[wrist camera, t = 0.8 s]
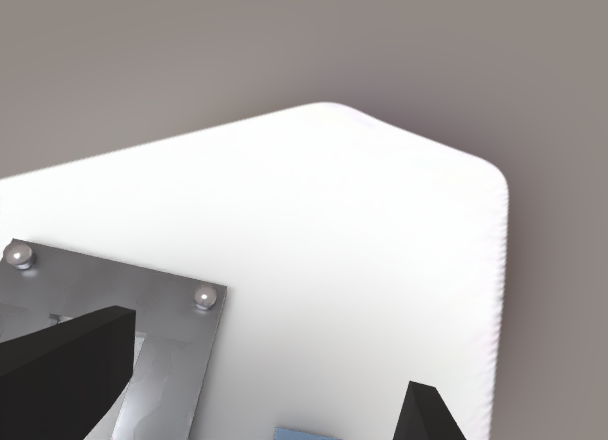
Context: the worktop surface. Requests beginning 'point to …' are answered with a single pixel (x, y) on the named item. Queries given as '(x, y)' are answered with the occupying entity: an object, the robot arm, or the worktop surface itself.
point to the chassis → (149, 324)
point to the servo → (297, 435)
